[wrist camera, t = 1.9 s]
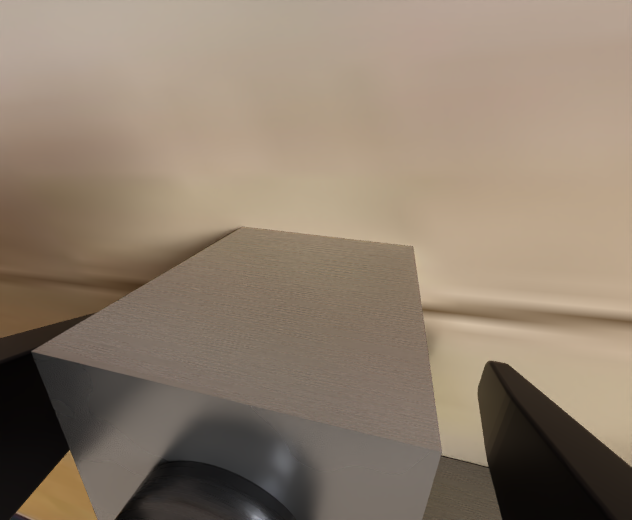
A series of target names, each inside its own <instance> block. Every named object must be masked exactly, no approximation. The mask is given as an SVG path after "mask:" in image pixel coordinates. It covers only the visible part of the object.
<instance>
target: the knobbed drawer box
mask: <svg viewBox="0 0 632 520" xmlns="http://www.w3.org/2000/svg"><path fill="white" fill-rule="evenodd" d="M31 353H32V355H33V358H34V360H35V363H36V365H37V368H38V370H39V373H40V375H41V378H42V380H43V383H44V385H45V388H46V390H47V393H48V395H49V398H50V400H51V403H52V406H53V408H54V411H55V413H56V416H57V418H58V421H59V423H60V426H61V428H62V431H63V433H64V436H65V438H66V441H67V443H68V446H69V448H70V451H71V453H72V456H73V458H74V461H75V464H76V466H77V469H78V471H79V474H80V476H81V479H82V481H83V484H84V486H85V489H86V491H87V494H88V496H89V499H90V501H91V504H92V506H93V509H94V511H95V514H96V516H97V519H98V520H422V518H423V515H424V511H425V508H426V505H427V501H428V498H429V494H430V491H431V487H432V484H433V481H434V477H435V474H436V470H437V467H438V464H439V460H440V457H441V453H442V449H441V442H440V435H439V428H438V421H437V413H436V406H435V399H434V392H433V385H432V377H431V370H430V363H429V356H428V349H427V342H426V334H425V327H424V320H423V313H422V306H421V298H420V291H419V284H418V277H417V270H416V263H415V255H414V248H413V246H405V245H397V244H388V243H379V242H371V241H362V240H353V239H345V238H336V237H327V236H319V235H310V234H301V233H293V232H284V231H275V230H267V229H258V228H249V227H241V228H240V229H238V230H236V231H234V232H233V233H231V234H229V235H228V236H226V237H224V238H223V239H221V240H219V241H218V242H216V243H214V244H212V245H211V246H209V247H207V248H206V249H204V250H202V251H201V252H199V253H197V254H195V255H194V256H192V257H190V258H189V259H187V260H185V261H184V262H182V263H180V264H179V265H177V266H175V267H173V268H172V269H170V270H168V271H167V272H165V273H163V274H162V275H160V276H158V277H156V278H155V279H153V280H151V281H150V282H148V283H146V284H145V285H143V286H141V287H140V288H138V289H136V290H134V291H133V292H131V293H129V294H128V295H126V296H124V297H123V298H121V299H119V300H117V301H116V302H114V303H112V304H111V305H109V306H107V307H106V308H104V309H102V310H101V311H99V312H97V313H95V314H94V315H92V316H90V317H89V318H87V319H85V320H84V321H82V322H80V323H78V324H77V325H75V326H73V327H72V328H70V329H68V330H67V331H65V332H63V333H62V334H60V335H58V336H56V337H55V338H53V339H51V340H50V341H48V342H46V343H45V344H43V345H41V346H39V347H38V348H36V349H34V350H33V351H31Z"/></svg>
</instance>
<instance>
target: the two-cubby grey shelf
mask: <svg viewBox="0 0 632 520" xmlns="http://www.w3.org/2000/svg"><path fill="white" fill-rule="evenodd" d="M422 520H502V517H501V513H500V509H499V506H498V502H497V498H496V494H495V490H494V486H493V482H492V478H491V475H490V470H489V468H487V467H483V466H479V465H475V464H471V463H467V462H463V461H458V460H454V459H450V458H446V457H442V456H441V457H440V460H439V464H438V467H437V470H436V474H435V477H434V481H433V484H432V487H431V491H430V494H429V498H428V501H427V505H426V508H425V511H424V515H423V518H422Z"/></svg>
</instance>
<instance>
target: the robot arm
mask: <svg viewBox="0 0 632 520" xmlns="http://www.w3.org/2000/svg"><path fill="white" fill-rule="evenodd" d="M94 314H95V313H93V314H89V315H86V316H82V317H78V318H74V319H71V320H67V321H63V322H59V323H56V324H52V325H48V326H44V327H41V328H37V329H33V330H29V331H26V332H22V333H18V334H15V335H11V336H7V337H3V338H0V520H10V519H11V517H12V516H13V515H14V514H15V513H16V512H17V510H18V509H19V508H20V507H21V506H22V505H23V503H24V502H25V501H26V500H27V499H28V498H29V497H30V495H31V494H32V493H33V492H34V491H35V490H36V488H37V487H38V486H39V485H40V484H41V483H42V481H43V480H44V479H45V478H46V477H47V476H48V474H49V473H50V472H51V471H52V470H53V469H54V467H55V466H56V465H57V464H58V463H59V462H60V460H61V459H62V458H63V457H64V456H65V455H66V453H67V452H68V451H69V450H70V448H69V446H68V443H67V441H66V438H65V436H64V433H63V431H62V428H61V426H60V423H59V421H58V418H57V416H56V413H55V411H54V408H53V406H52V403H51V400H50V398H49V395H48V393H47V390H46V388H45V385H44V383H43V380H42V378H41V375H40V373H39V370H38V368H37V365H36V363H35V360H34V358H33V355H32V353H31V351H33V350H34V349H36V348H38V347H39V346H41V345H43V344H45V343H46V342H48V341H50V340H51V339H53V338H55V337H56V336H58V335H60V334H62V333H63V332H65V331H67V330H68V329H70V328H72V327H73V326H75V325H77V324H78V323H80V322H82V321H84V320H85V319H87V318H89V317H90V316H92V315H94ZM478 401H479V408H480V415H481V422H482V429H483V436H484V443H485V450H486V456H487V462H488V466H489V470H490V475H491V478H492V482H493V486H494V490H495V494H496V498H497V502H498V506H499V509H500V513H501V517H502V520H632V467H631V466H630V465H628V464H627V463H626V462H625V461H624V460H622V459H621V458H620V457H619V456H618V455H616V454H615V453H614V452H613V451H612V450H610V449H609V448H608V447H607V446H606V445H604V444H603V443H602V442H601V441H600V440H598V439H597V438H596V437H595V436H594V435H592V434H591V433H590V432H589V431H588V430H586V429H585V428H584V427H583V426H582V425H580V424H579V423H578V422H577V421H576V420H574V419H573V418H572V417H571V416H570V415H568V414H567V413H566V412H565V411H564V410H562V409H561V408H560V407H559V406H558V405H556V404H555V403H554V402H553V401H552V400H550V399H549V398H548V397H547V396H546V395H544V394H543V393H542V392H541V391H540V390H538V389H537V388H536V387H535V386H534V385H532V384H531V383H530V382H529V381H528V380H526V379H525V378H524V377H523V376H522V375H520V374H519V373H518V372H517V371H516V370H514V369H513V368H512V367H511V366H509V365H508V364H506V363H501V362H496V361H488V362H487V363H486V364H485V367H484V370H483V373H482V377H481V380H480V383H479V386H478Z"/></svg>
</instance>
